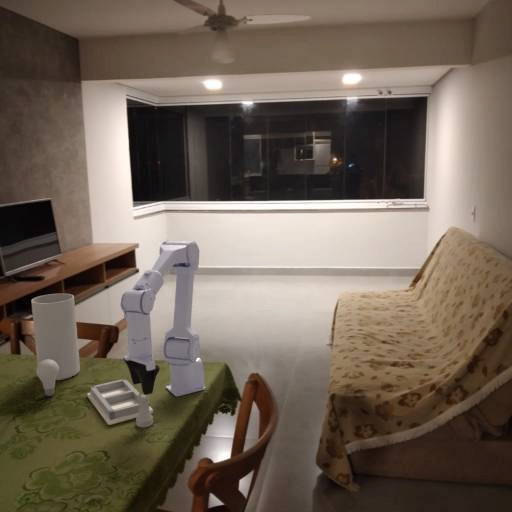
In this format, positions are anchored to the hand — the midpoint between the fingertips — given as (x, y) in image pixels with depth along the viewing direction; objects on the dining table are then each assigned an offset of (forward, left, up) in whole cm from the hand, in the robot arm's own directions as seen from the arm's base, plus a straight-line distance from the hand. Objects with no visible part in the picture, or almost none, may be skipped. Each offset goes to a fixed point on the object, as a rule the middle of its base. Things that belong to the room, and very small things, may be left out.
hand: (142, 388), depth 134 cm
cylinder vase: (+11, -48, -10) cm, 50 cm away
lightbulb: (+17, -32, -10) cm, 38 cm away
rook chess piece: (0, 0, -10) cm, 10 cm away
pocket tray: (+2, -15, -10) cm, 18 cm away
